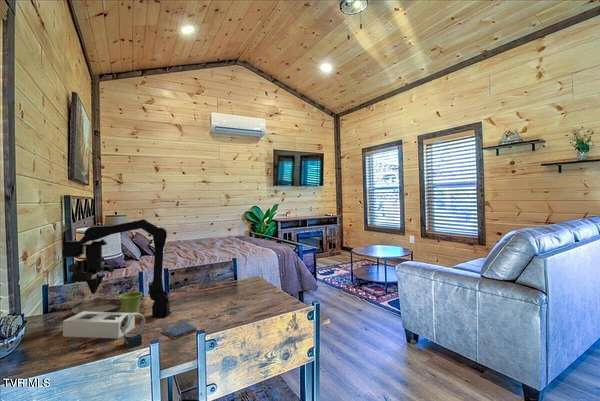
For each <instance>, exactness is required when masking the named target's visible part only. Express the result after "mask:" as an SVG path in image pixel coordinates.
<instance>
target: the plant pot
mask: <svg viewBox="0 0 600 401" xmlns="http://www.w3.org/2000/svg"><path fill="white" fill-rule="evenodd" d="M142 296H143V292H141V291H131V292H126V293H122V294H120V295H119V296H118V299H119V298H120V300H121V302H122V307H121V309H122V313H139V311H140V305H141V299H142Z"/></svg>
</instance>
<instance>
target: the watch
mask: <svg viewBox="0 0 600 401" xmlns="http://www.w3.org/2000/svg"><path fill="white" fill-rule="evenodd" d="M134 315H135V316H141V318H142V319H141V322H140V325H139V326H138V328H137V330H136V331H134V332H130V333H126V334H125V333H124V332H125V330H126V329H127V328H128V327H129V325H130V323H131V319H132V318H133V316H134ZM145 326H146V318H145V316H144V315H143V314H142V313H139V312H138V313H131V314H129V315H126V316H125V317H124V318H123V320H122V322H121V324H120V329H121V332H122V333H123V334H124V335H123V343H124V346H126V348H127V349H128V350H130V349H133V348H136V347H139V346H142V345H143V335H141V333H142V331H144V330H143V329H144V328H145Z"/></svg>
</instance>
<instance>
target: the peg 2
mask: <svg viewBox="0 0 600 401" xmlns="http://www.w3.org/2000/svg"><path fill="white" fill-rule="evenodd" d="M117 318H119V315H111V316H108V317H106V318H105V320H115V319H117Z"/></svg>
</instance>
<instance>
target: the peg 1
mask: <svg viewBox="0 0 600 401" xmlns="http://www.w3.org/2000/svg"><path fill="white" fill-rule="evenodd" d="M93 317H95V314H88V315H84V316H82V317H81V319H91V318H93Z"/></svg>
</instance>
